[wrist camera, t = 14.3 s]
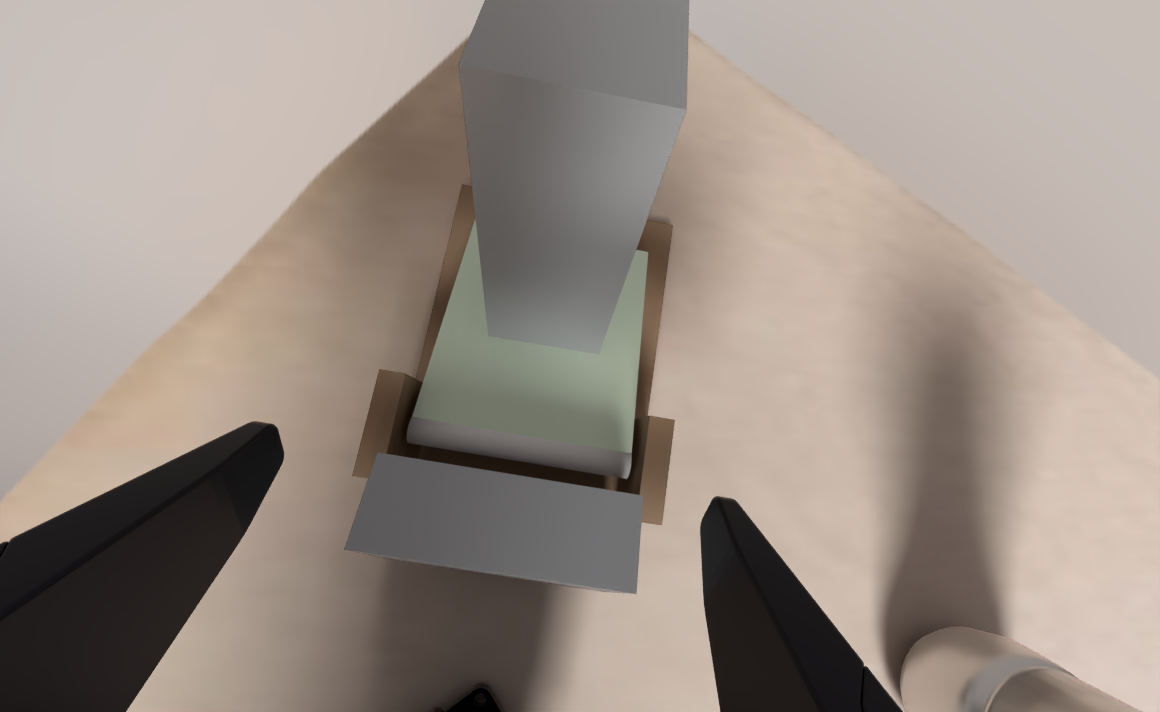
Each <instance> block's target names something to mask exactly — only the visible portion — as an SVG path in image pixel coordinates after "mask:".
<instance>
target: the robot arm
mask: <svg viewBox="0 0 1160 712" xmlns="http://www.w3.org/2000/svg"><path fill="white" fill-rule="evenodd" d="M283 459H284V451H283V447H282V443H281V439H280V435H279V431H278V428H277V427H276V426H275V425H274V424H270V423H263V422H257V421H255V422H250V423H247V424H245V425H243V426H241V427H239V428H237V429H235V430H233V431H231V432H229V433H227V434H225V435H223V436H221V437H219V438H217V439H215V440H212V441H210V442H208V443H206V444H204V445H202V446H200V447H198V448H196V449H194V450H192V451H190V452H188V453H186V454H184V455H182V456H180V457H178V458H176V459H173V460H171V461H169V462H167V463H165V464H163V465H161V466H159V467H157V468H155V469H153V470H151V471H149V472H147V473H145V474H143V475H141V476H139V477H136V478H134V479H132V480H130V481H128V482H126V483H124V484H122V485H120V486H118V487H116V488H114V489H112V490H110V491H108V492H106V493H104V494H102V495H100V496H97V497H95V498H93V499H91V500H89V501H87V502H85V503H83V504H81V505H79V506H77V507H75V508H73V509H71V510H69V511H67V512H65V513H63V514H61V515H58V516H56V517H54V518H52V519H50V520H48V521H46V522H44V523H42V524H40V525H38V526H36V527H34V528H32V529H30V530H28V531H26V532H24V533H21V534H19V535H17V536H15V537H13V538H12V539H11V540H10V541H9V542H3V543H1V544H0V712H126V711H127V709H128V708H129V706H130V705H131V703H132V702H133V700H134V699H135V697H136V696H137V694H138V693H139V691H140V690H141V688H142V687H143V686H144V684H145V683H146V681H147V680H148V678H149V677H150V675H151V674H152V672H153V671H154V669H155V668H156V666H157V665H158V663H159V662H160V660H161V659H162V657H163V656H164V654H165V653H166V651H167V650H168V648H169V647H170V645H171V644H172V642H173V641H174V639H175V638H176V636H177V635H178V633H179V632H180V630H181V629H182V627H183V626H184V624H185V623H186V621H187V620H188V618H189V617H190V615H191V614H192V612H193V611H194V609H195V608H196V606H197V605H198V603H199V602H200V600H201V599H202V597H203V596H204V594H205V593H206V591H207V590H208V588H209V587H210V585H211V584H212V582H213V581H214V579H215V578H216V577H217V575H218V574H219V572H220V571H221V569H222V568H223V566H224V565H225V563H226V562H227V560H228V559H229V557H230V556H231V554H232V553H233V551H234V550H235V548H236V547H237V545H238V544H239V542H240V540H241V539H242V537H243V536H244V534H245V532H246V531H247V529H248V527H249V525H250V524H251V522H252V520H253V518H254V516H255V514H256V512H257V510H258V509H259V507H260V505H261V503H262V501H263V499H264V497H265V495H266V493H267V491H268V490H269V488H270V486H271V484H272V482H273V480H274V478H275V476H276V474H277V473H278V471H279V469H280V467H281V465H282V462H283ZM700 535H701V557H702V578H703V597H704V607H705V615H706V622H707V628H708V634H709V641H710V647H711V654H712V660H713V667H714V673H715V679H716V686H717V692H718V699H719V705H720V712H903V711H902V710H901V708H900V707H899V706H898V705H897V704H896V702H895V701H894V700H893V699H892V697H891V696H890V695H889V694H888V692H887V691H886V690H885V689H884V688H883V686H882V685H881V684H880V682H879V681H878V680H877V679H876V677H875V676H874V675H873V674H872V672H871V671H870V670H869V669H868V667H866V666H864V663H863V661H862V660H861V659H860V657H859V656H858V655H857V653H856V652H855V651H854V650H853V648H852V647H851V646H850V645H849V643H848V642H847V641H846V640H845V638H844V637H843V636H842V634H841V633H840V632H839V631H838V629H837V628H836V627H835V626H834V624H833V623H832V622H831V620H830V619H829V618H828V617H827V615H826V614H825V613H824V612H823V610H822V609H821V608H820V606H819V605H818V604H817V603H816V601H815V600H814V599H813V598H812V596H811V595H810V594H809V593H808V591H807V590H806V589H805V587H804V586H803V585H802V584H801V582H800V581H799V580H798V579H797V577H796V576H795V575H794V573H793V572H792V571H791V570H790V568H789V567H788V566H787V565H786V563H785V562H784V561H783V559H782V558H781V557H780V556H779V554H778V553H777V552H776V551H775V549H774V548H773V547H772V546H771V544H770V543H769V542H768V540H767V539H766V538H765V537H764V535H763V534H762V533H761V532H760V530H759V529H758V528H757V526H756V525H755V524H754V523H753V521H752V520H751V519H750V518H749V516H748V515H747V514H746V512H745V511H744V510H743V509H742V507H741V506H740V505H739V504H738V502H737V501H735V500H734V499H732V498H726V497H720V496H716V497H714V498H713V500H712V501H711V503H710V505H709V507H708V509H707V511H706V513H705V515H704V517H703V519H702V522H701V527H700ZM478 694H483V695H484V696H485V698H486V699H485V701H483V702H478V701H477V700H476V696H477V695H478ZM429 712H505V711H504V710H503V708H502V706H501V705H500V703H499V701H498V699H497V698H496V696H495V694H494V693H493V691H492V689H491V688H490V687H489V686H488V685H487V684H485V683H479V684H477V685H475V686H474V687H473V688H471V689H470V690H469V691H467V692H466V693H465V694H463V695H462V696H461V697H459V698H458V699H457V700H455V701H454V702H453V703H451V704H450V705H449V706H447V707H446V708H445V709H443V708H442V707H435V708H433V709H432V710H431V711H429Z"/></svg>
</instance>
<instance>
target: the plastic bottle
mask: <svg viewBox="0 0 1160 712" xmlns="http://www.w3.org/2000/svg"><path fill="white" fill-rule="evenodd" d="M900 688H901V696H902V700H903V704H904V708H905V711H906V712H1142V711H1140V710H1138V709H1136V708H1134V707H1132V706H1130V705H1128V704H1126V703H1124V702H1122V701H1120V700H1118V699H1116V698H1115V697H1113V696H1111V695H1109V694H1107V693H1105V692H1103V691H1101V690H1099V689H1097V688H1095V687H1093V686H1091V685H1089V684H1087V683H1085V682H1083V681H1081V680H1079V679H1078V678H1077V677H1075V676H1074V675H1072V674H1071V673H1070V672H1068V671H1067V670H1065V669H1064V668H1062V667H1060V666H1059V665H1057V664H1056V663H1054V662H1053V661H1051V660H1049V659H1048V658H1046V657H1044V656H1042V655H1040V654H1039V653H1037V652H1035V651H1033V650H1031V649H1029V648H1028V647H1026V646H1024V645H1022V644H1020V643H1018V642H1016V641H1014V640H1012V639H1010V638H1008V637H1005V636H1001V635H998V634H994V633H990V632H985V631H981V630H977V629H973V628H969V627H960V626H952V627H947V628H942V629H939V630H937V631H934V632H932V633H930V634H927V635H925V636H923V637H922V638H921V639H919V640H918V641H917V642H916V643H915V644H914V645H913V646H912V647H911V649H910V650H909V652H908V653H907V655H906V657H905V659H904V662H903V666H902V669H901V678H900Z"/></svg>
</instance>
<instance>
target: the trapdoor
mask: <svg viewBox="0 0 1160 712" xmlns="http://www.w3.org/2000/svg"><path fill="white" fill-rule="evenodd" d="M647 261H648V252H645V251H640V250H636V252H635V254H634V257H633V260H632V263H631V266H630V268H629V271H628V274H627V277H626V280H625V282H624V285H623V288H622V291H621V294H620V296H619V299H618V302H617V305H616V308H615V310H614V313H613V316H612V319H611V321H610V324H609V327H608V330H607V333H606V335H605V338H604V341H603V344H602V347H601V349H600V352H599V354H593V353H587V352H581V351H575V350H569V349H563V348H557V347H551V346H545V345H539V344H533V343H527V342H521V341H516V340H510V339H504V338H498V337H492V336H488V329H487V319H486V310H485V301H484V292H483V283H482V274H481V265H480V255H479V246H478V237H477V228H476V219H475V221H474V224H473V227H472V231H471V234H470V237H469V240H468V243H467V246H466V249H465V252H464V256H463V259H462V262H461V265H460V268H459V271H458V274H457V277H456V281H455V284H454V287H453V290H452V293H451V296H450V299H449V303H448V306H447V309H446V312H445V315H444V318H443V321H442V324H441V328H440V331H439V334H438V337H437V340H436V343H435V346H434V349H433V353H432V356H431V359H430V362H429V365H428V368H427V371H426V375H425V378H424V381H423V384H422V387H421V390H420V393H419V396H418V400H417V403H416V406H415V409H414V412H413V415H412V418H411V420H410V422H409V425H408V430H407V442H408V443H411V444H417V445H423V446H429V447H435V448H441V449H447V450H453V451H459V452H465V453H472V454H478V455H484V456H490V457H496V458H502V459H508V460H514V461H520V462H526V463H532V464H538V465H545V466H551V467H557V468H563V469H569V470H575V471H581V472H587V473H593V474H599V475H605V476H611V477H618V478H624V479H627V478H628V476H629V473H630V468H631V461H632V443H633V431H634V419H635V406H636V394H637V382H638V370H639V358H640V346H641V334H642V322H643V310H644V298H645V285H646V273H647ZM642 503H643V496H642V495H636V494H630V493H624V492H618V491H612V490H605V489H599V488H593V487H587V486H581V485H575V484H569V483H562V482H556V481H550V480H544V479H538V478H532V477H526V476H519V475H513V474H507V473H501V472H495V471H489V470H483V469H476V468H470V467H464V466H458V465H452V464H446V463H440V462H433V461H427V460H421V459H415V458H409V457H403V456H397V455H390V454H384V453H377V456H376V459H375V461H374V464H373V467H372V470H371V473H370V476H369V479H368V482H367V485H366V488H365V491H364V494H363V496H362V499H361V502H360V505H359V508H358V511H357V514H356V517H355V520H354V523H353V526H352V529H351V531H350V534H349V537H348V540H347V543H346V546H345V549H344V550H349V551H354V552H358V553H363V554H368V555H372V556H377V557H382V558H386V559H391V560H397V561H404V562H410V563H417V564H424V565H430V566H437V567H443V568H450V569H457V570H463V571H470V572H476V573H483V574H490V575H496V576H503V577H510V578H516V579H523V580H529V581H536V582H543V583H549V584H556V585H562V586H569V587H576V588H582V589H589V590H595V591H602V592H616V593H631V594H636V591H637V577H638V562H639V547H640V533H641V518H642Z"/></svg>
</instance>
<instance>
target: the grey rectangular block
mask: <svg viewBox="0 0 1160 712" xmlns="http://www.w3.org/2000/svg"><path fill="white" fill-rule="evenodd" d="M688 23H689V0H485V1H484V4H483V6H482V9H481V11H480V14H479V16H478V19H477V21H476V24H475V26H474V28H473V30H472V33H471V35H470V38H469V40H468V43H467V45H466V47H465V50H464V52H463V55H462V57H461V59H460V62H459V72H460V81H461V91H462V100H463V109H464V118H465V127H466V136H467V146H468V155H469V164H470V173H471V182H472V191H473V200H474V210H475V219H476V228H477V237H478V246H479V255H480V265H481V274H482V283H483V292H484V301H485V310H486V319H487V329H488V336H492V337H498V338H504V339H510V340H516V341H521V342H527V343H533V344H539V345H545V346H551V347H557V348H563V349H569V350H575V351H581V352H587V353H593V354H599V352H600V349H601V347H602V344H603V341H604V338H605V335H606V333H607V330H608V327H609V324H610V321H611V319H612V316H613V313H614V310H615V308H616V305H617V302H618V299H619V296H620V294H621V291H622V288H623V285H624V282H625V280H626V277H627V274H628V271H629V268H630V266H631V263H632V260H633V257H634V254H635V252H636V249H637V246H638V243H639V241H640V238H641V235H642V232H643V229H644V227H645V224H646V221H647V218H648V215H649V213H650V210H651V207H652V204H653V201H654V199H655V196H656V193H657V190H658V188H659V185H660V182H661V179H662V176H663V174H664V171H665V168H666V165H667V162H668V160H669V157H670V154H671V151H672V148H673V146H674V143H675V140H676V137H677V135H678V132H679V129H680V126H681V123H682V121H683V118H684V115H685V112H686V105H687V65H688V26H689V25H688Z"/></svg>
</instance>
